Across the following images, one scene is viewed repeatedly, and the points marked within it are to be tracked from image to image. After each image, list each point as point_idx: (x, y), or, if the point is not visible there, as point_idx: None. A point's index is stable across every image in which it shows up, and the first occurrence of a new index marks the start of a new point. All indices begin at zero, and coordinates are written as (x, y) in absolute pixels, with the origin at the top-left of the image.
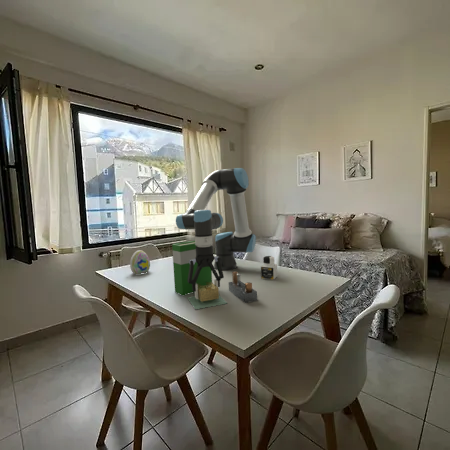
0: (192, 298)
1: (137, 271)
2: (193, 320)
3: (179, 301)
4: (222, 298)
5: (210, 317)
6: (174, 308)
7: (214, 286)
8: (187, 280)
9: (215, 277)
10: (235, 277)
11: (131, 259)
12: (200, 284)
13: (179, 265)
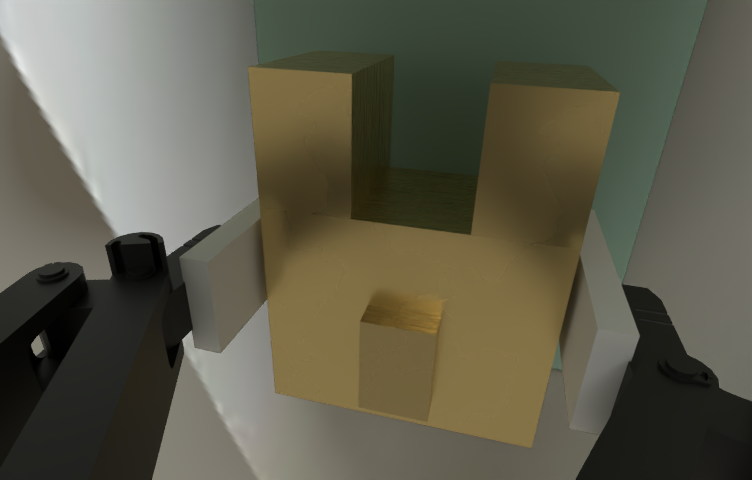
0: (304, 47)
1: None
2: (240, 425)
3: (164, 25)
4: (626, 260)
5: (348, 459)
6: (123, 179)
7: (519, 363)
8: (24, 276)
9: (630, 384)
10: None
11: None
12: (347, 144)
13: None
